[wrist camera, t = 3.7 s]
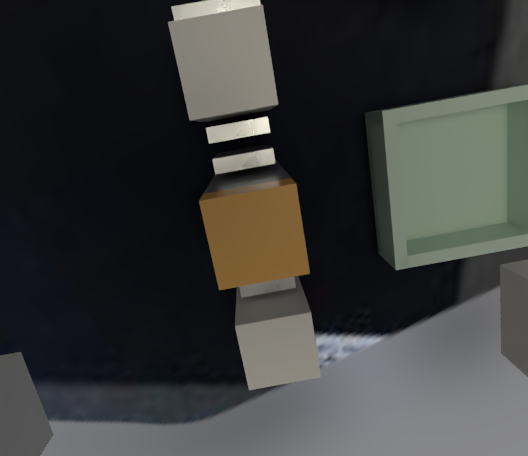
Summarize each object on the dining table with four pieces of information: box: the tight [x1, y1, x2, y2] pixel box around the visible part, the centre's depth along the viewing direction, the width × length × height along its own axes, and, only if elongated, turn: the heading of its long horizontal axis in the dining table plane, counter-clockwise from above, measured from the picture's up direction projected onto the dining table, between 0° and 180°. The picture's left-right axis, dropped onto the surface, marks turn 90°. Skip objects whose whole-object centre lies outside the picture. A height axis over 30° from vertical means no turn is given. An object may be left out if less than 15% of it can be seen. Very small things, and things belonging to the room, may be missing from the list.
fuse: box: [199, 161, 310, 290], centre depth 25 cm, size 5×5×12 cm
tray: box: [365, 84, 528, 270], centre depth 30 cm, size 12×12×4 cm
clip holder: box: [171, 0, 296, 298], centre depth 28 cm, size 6×28×6 cm, turn 10°
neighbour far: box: [235, 276, 321, 390], centre depth 29 cm, size 5×5×9 cm
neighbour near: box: [168, 5, 278, 122], centre depth 25 cm, size 5×5×9 cm
